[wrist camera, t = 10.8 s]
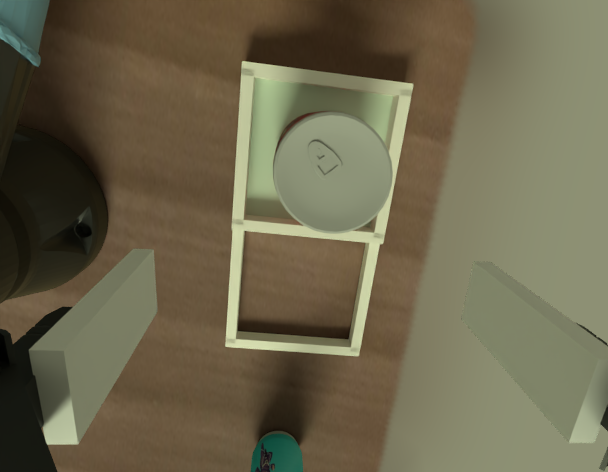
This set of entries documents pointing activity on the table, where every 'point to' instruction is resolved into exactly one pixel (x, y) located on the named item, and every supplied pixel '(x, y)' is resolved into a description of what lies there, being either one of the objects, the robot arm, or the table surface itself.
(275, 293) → the table surface
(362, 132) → the canned food
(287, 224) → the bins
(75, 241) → the robot arm
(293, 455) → the beverage can
